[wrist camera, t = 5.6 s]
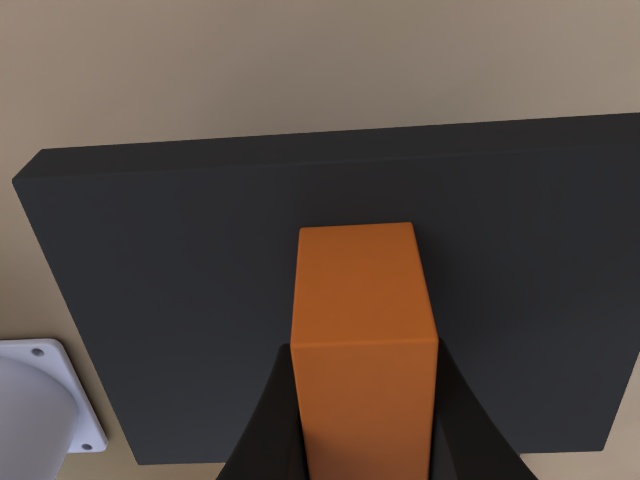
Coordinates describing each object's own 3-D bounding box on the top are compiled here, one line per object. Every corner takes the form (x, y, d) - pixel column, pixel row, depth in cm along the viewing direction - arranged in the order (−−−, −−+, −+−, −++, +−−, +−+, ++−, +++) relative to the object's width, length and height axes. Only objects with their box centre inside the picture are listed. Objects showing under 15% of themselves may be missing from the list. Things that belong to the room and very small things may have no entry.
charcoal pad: (171, 476, 20) (129, 638, 16) (40, 147, 12) (-103, 291, 8) (566, 465, 19) (631, 631, 15) (679, 108, 12) (870, 245, 8)
